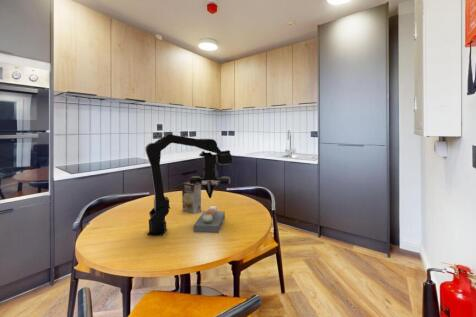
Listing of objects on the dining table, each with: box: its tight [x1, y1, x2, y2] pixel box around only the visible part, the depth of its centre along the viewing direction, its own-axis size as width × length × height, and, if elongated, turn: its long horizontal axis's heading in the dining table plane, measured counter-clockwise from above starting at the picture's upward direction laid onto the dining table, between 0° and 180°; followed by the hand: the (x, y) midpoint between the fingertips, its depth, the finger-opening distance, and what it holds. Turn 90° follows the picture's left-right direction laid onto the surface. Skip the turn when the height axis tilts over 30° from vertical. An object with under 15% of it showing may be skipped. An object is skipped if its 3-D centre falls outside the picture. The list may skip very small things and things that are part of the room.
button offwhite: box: [208, 205, 218, 212], centre depth 127 cm, size 4×4×2 cm
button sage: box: [203, 215, 212, 222], centre depth 115 cm, size 4×4×2 cm
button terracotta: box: [205, 209, 215, 216], centre depth 121 cm, size 4×4×2 cm
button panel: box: [193, 210, 226, 234], centre depth 121 cm, size 11×20×3 cm, turn 175°
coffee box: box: [181, 181, 202, 214], centre depth 141 cm, size 9×6×16 cm
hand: (210, 197), depth 120 cm, fingers closed
